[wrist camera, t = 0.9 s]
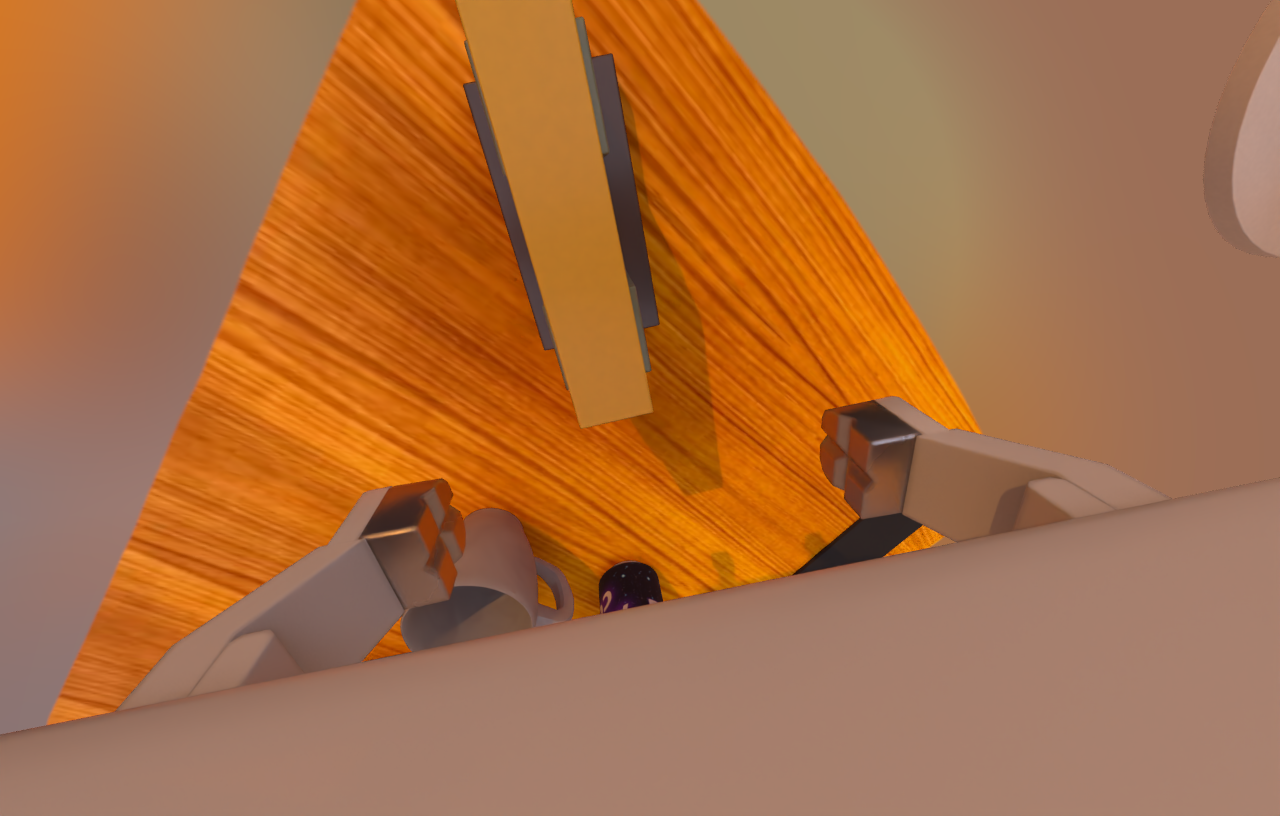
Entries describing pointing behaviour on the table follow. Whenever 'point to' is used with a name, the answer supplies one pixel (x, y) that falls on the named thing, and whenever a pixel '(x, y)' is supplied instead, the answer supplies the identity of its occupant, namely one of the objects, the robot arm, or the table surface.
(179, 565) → the table surface
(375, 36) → the table surface
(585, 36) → the tower
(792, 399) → the table surface
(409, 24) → the table surface
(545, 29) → the bar
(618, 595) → the beverage can
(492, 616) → the mug
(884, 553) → the mat
